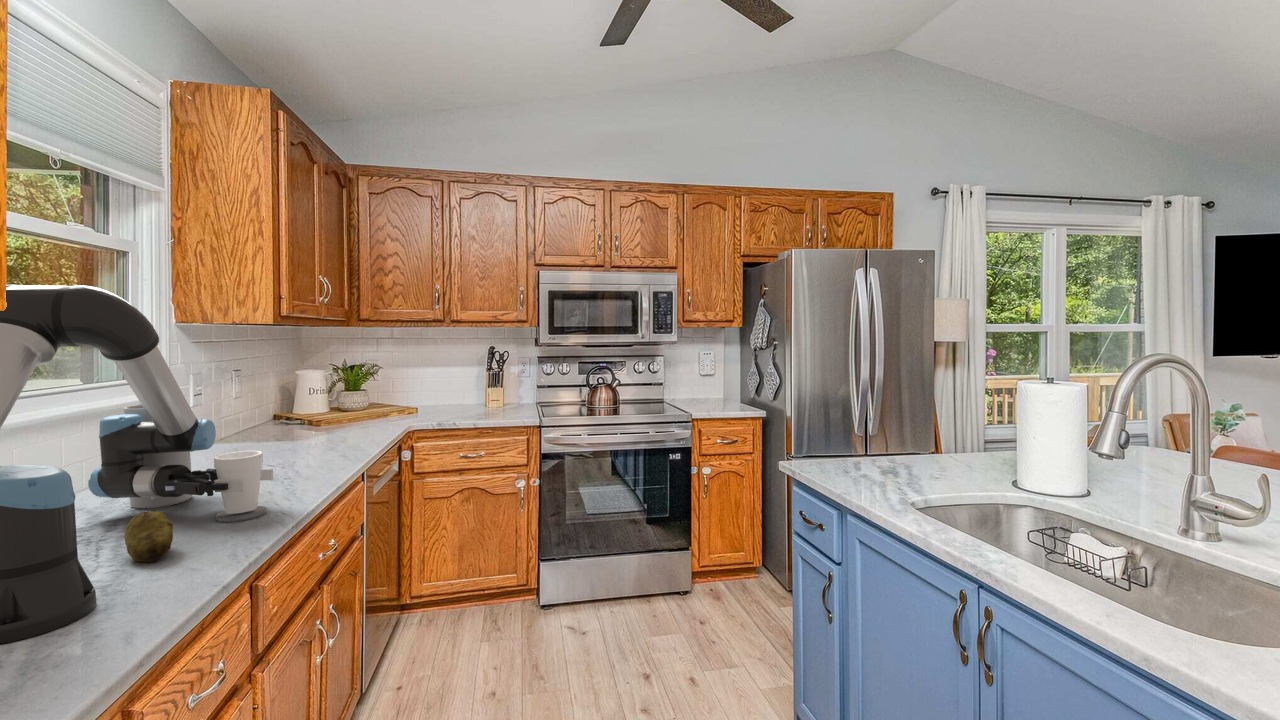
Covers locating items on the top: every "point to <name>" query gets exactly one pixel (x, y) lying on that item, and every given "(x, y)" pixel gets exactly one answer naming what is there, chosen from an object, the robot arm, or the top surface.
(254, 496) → the foam cup
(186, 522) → the top surface
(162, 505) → the cylinder vase
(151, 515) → the potato
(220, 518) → the coaster
